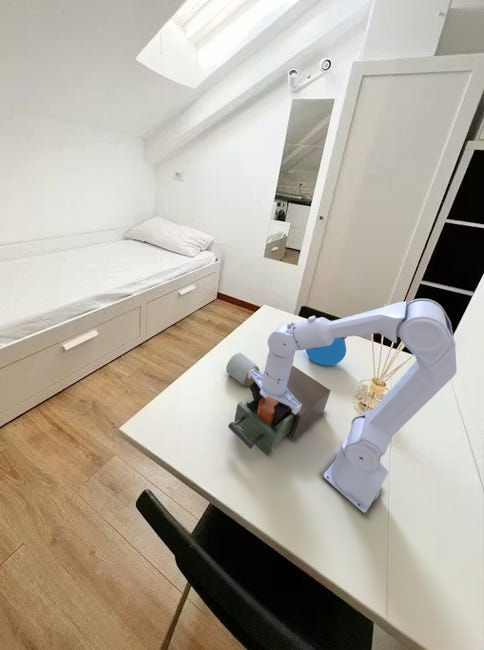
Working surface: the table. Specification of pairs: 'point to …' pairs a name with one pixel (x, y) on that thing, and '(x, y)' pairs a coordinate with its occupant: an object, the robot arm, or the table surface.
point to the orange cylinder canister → (266, 410)
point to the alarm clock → (328, 352)
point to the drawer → (260, 427)
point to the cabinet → (306, 399)
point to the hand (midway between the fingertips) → (266, 415)
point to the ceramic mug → (241, 368)
